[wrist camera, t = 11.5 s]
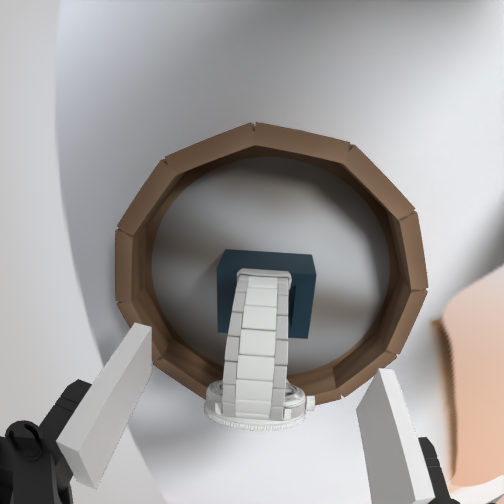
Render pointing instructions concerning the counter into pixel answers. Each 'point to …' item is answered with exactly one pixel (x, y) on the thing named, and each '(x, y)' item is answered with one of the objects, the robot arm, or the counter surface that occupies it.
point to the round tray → (273, 240)
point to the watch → (261, 338)
